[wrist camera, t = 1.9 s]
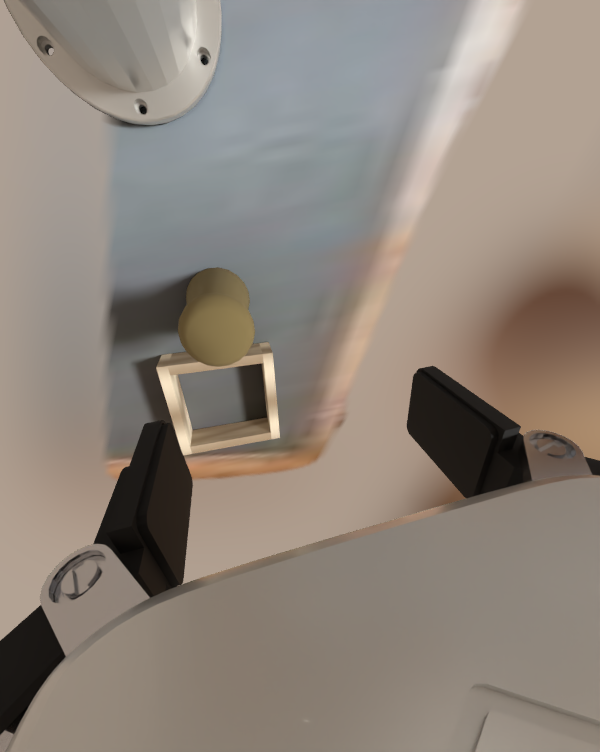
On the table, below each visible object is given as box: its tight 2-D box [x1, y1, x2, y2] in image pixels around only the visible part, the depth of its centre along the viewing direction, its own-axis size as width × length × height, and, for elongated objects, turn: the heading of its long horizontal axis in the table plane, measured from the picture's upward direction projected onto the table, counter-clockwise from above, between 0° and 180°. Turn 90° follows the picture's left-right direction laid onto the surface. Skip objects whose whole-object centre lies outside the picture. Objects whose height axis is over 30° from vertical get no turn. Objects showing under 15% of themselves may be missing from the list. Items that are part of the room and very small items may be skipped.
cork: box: [178, 268, 255, 367], centre depth 24 cm, size 6×6×11 cm
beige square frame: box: [156, 342, 280, 455], centre depth 32 cm, size 11×11×3 cm
